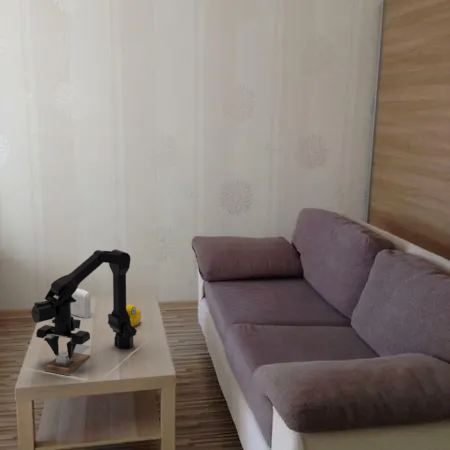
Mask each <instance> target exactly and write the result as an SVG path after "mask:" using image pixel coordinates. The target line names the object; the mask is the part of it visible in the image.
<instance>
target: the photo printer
mask: <svg viewBox="0 0 450 450" xmlns="http://www.w3.org/2000/svg"><path fill="white" fill-rule="evenodd" d="M72 297H73V298H74V299H75V300H76V302H73V303H71V316H72V315H73V316H75V317H78V318H79V317H80V318H83V319H89V318H90V317H91V312H92V311H91V310H92V309H91V305H92V304H91V293H90V292H88V291H87V290H84V289H82V288H78V287H77V290H76V291H75V292H74V293H73V295H72Z"/></svg>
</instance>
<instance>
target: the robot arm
mask: <svg viewBox="0 0 450 450" xmlns="http://www.w3.org/2000/svg"><path fill="white" fill-rule="evenodd" d="M104 263H107V264H108V266H109V268H110V270H111V272H112V273H111V274H112V292H113V293H112V296H113V299H112V301H113V302H112V303H113V305H112V306H113V307H112V308H113V309H112V311H111V313H108V315H107V319H108V320H107V324H108V325H109V328H110V329H111V330H112V331H113V333H114V334H115V336H114V337H113V338H114V341H113V343H114V347H115V348H117V349H120V350H130V349H131V348H133V347H134V336H136V335H137V332H138V330H137V329H136V328H135V326H131V320H130V316H129V314H128V312H127V310H126V306H127V272H129V269H130V268H131V255H130V254H129V253H128V252H125V251H123V250H120V249H113V250H101V249H97V250H94V252H93V253H92V254H91V255H90V256H89V257H88V258H87V259H86V260H84V261H83V262H82V263H81V264H79V265H78V266H77V267H75V269H74V270H72V271H71V272H70V273H68V274H65V275H63V276H60V277H59V278H57V279H56V280H54V281H53V282H52V283H51V284H50V289H49V290H48V292H47V293H46V294H45V297H44V301H38V302H34V306H32V310H31V311H30V312H31V317H32V320H33V321H34V323H43V322H46V321H50V320H51V322H52V324H54V325H49V324H48V325H47V324H44V325H42V326H41V327H39V328H37V330H36V332H35V333H36V336H35V337H36V338H39V339H44V340H43V341H44V342H46V343H47V344H48V345H49V346H50V349H51V350H52V352H53V354H54V355H55V356H56V355H57V354H59V353H60V352H59V348H60V347H59V339H60V338H68V339H69V341H68V342H66V348H67V350H66V351H68V356H69V358H72V355H73V352H74V349H75V347H76V345H77V344H80V345H85V343H86V342H88V341H89V340H90V339H91V333H90V332H89V331H85V330H79V329H80V326H81V321H82V320H80V319H75V318H74V316H72V314H71V303H73V302H76V300H75V299H74V298H73V297H72V295H73V293H74V292H75V291H76V290H77V288H78V286H79V285H80V284H81V283H82V282H83V281H84V280H85V279H87V278H88V276H90V275H91V274H92V273H93V272H94V271H96V270H97V269H98V268H99V267H100V266H101V265H102V264H104ZM55 296H56V297H55ZM76 329H78V331H76ZM74 331H76V332H75V333H74Z"/></svg>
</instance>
